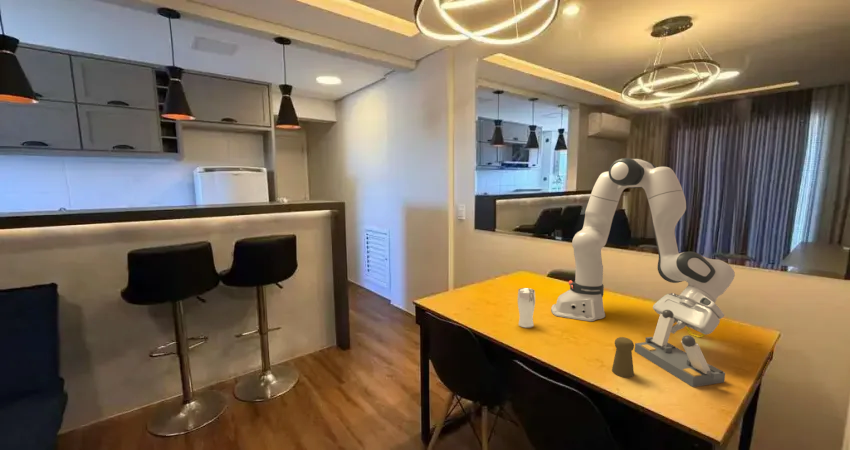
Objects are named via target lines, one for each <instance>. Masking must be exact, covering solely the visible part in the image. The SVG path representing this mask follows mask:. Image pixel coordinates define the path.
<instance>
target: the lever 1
mask: <svg viewBox="0 0 850 450" xmlns="http://www.w3.org/2000/svg"><path fill="white" fill-rule="evenodd" d="M673 316H674V314H673V312H672V311H670V310H664V311H663V312H662V314H659V317H658V320H657V324H656V327H655V329H654V334H653V336H652V337H653V339H651V340H650V342H652V343H654V344H655V345H657V346H659V347H661V348H663V349H664V347H667V343H669V339H670V337H671V336H670V335H671V334H672V333H671V329H672V326H674V324H675V323H674V318H673ZM673 323H674V324H673Z"/></svg>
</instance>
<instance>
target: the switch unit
mask: <svg viewBox="0 0 850 450" xmlns="http://www.w3.org/2000/svg"><path fill="white" fill-rule="evenodd" d="M651 339H653V336H649V337H645V342H644V341H642V342H635V344H634V353H637V355H640V356H641V357H643V358H645V359H646V360H648V361H650V362H651V363H653V364H654V365H656V366H658V367H659V368H660V369H663V370H664V371H665V372H667V373H669V374H671V375H673V376H674V377H676V378H677V379H679V380H680V381H682V382H684V383H686V384H687V385H689V386H690V387H692V388H696V387H703V386H709V385H714V384H715V385H716V384H722V383H724V384H725V379H726V372H724V371H723V370H721V369H720V368H717V367H716V366H714V365H711V364H709V363H707V364H708V366H709V368H710V372H712V373H711V376H709V375H707V374H704V373H703V372H701V371H699V370H697V369H695V368H694V367H693V366H691V362H690V360H689V358H688V356H687V353H686V351H685V350H682V349H681V348H678V347H676V346H675V345H673V344H671V343H669V342H668V343H667V347H664V349H663V348H661V347H659V346H657V345H655V344H654V343H652V342H650V340H651Z"/></svg>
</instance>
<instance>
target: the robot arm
mask: <svg viewBox="0 0 850 450" xmlns="http://www.w3.org/2000/svg"><path fill="white" fill-rule="evenodd" d="M627 188H629V189H639V188H640V189H643V190H644V192H645V195H646V199H647V202H648V205H649V208H650V213H651V217H652V218H651V219H652V227H653V232H654V238H655V243H656V248H657V252H658V261H657V272H658V274H659V276H660V278H661V279H663V280H664V281H666V282H668V283H673V284H678V283H682V282H686V283H687V286H686V287H685V288H684V290H682V291H681V293H680V294H676V293H673V292H671V293H666V294H665V295H664V296H662V297H661V298H659V300H657V301H656V302H655V303H653V306H652V309H653V310H654V312H656V314H658V315H660V314H662V312H663V311H664V310H670V311H672V312H673V314H674V316H673V318H674V323H673V326H672V329H671V333H670V334H673V335H674V334H676V332H678V331H680V330H682V329H684V328H685V327H689V328H690V329H692V330H695V331H697V332H699V333H701V334H702V333H703V334H705V335H706V336H708V335H710V334H712V333H713V332H714V331H715V329H716V328H717V327H718V325H719V324H720V321H721V319H723V318H724V317H725V313H724V311H722V309H721V308H720V306H719V305H717V304H716V302H717V299H718V298H719V297H720V296H722V295H723V294H724V293H725V292H726V290H727V289H729V287H730V286H731V284H732V283H733V281H734V279H735V276H736V275H735V271H734V269H733V267H732V266H731V265H730V264H728V263H727V262H726V261H724V260H721V259H718V258H717V259H713V258H708V257H705V256H703V255H702V254H699V253H698V252H695V251H683V252H680V251H679V249H678V243H677V238H676V231H675V230H676V226H677V225H678V222H679V221H680V219H681V218H682V217H683V215H684V214H685V212H686V211H687V201H686V196H685V193H684V190H683V188H682V185H681V183H680V180H679V178H678V177H677V174H676V173H675V171H674V170H673V169H672V168H671V167H668V166H658V167H657V166H656V165H655V164H653V163H652V162H650V161H647V160H643V159H641V158H630V157H624V158H623V157H622V158H619V159H617V160H615V161H613V163H611V165H610V167H609V168H608V171H603V172H601V173H600V175H598V178H597V179H596V181H595V183H594V185H593V188H592V190H591V193H590V195H589V196H590V197H589V198H588V199H589V200H588V201H587V202H588V203H587V204H586V208H585V213H584V214H585V215H584V220H583V226H582V229H581V230H579V231H577V232H576V233H575V234H574V236H573V238H572V242H571V245H572V248H573V255H574V256H573V257H574V262H575V274H574V275H575V278H574V279H575V280H574V281H573V280H572V279H571V280H569V281H568V285H569V289H568V290H567V291H565V292H563V293H561V294H560V295H559V296H558V297H557V300H556V303H554V304H552V306H551V309H550V311H551V314H552V315H554V316H555V317H559V318H560V317H561V318H566V319H574V320H579V321H586V322H594V321H596V320H597V321H598V320H601V319H604V318H605V317H606V313H605V309H604V301H603V300H604V299H603V297H604V293H605V292H604V283H603V279H604V277H603V276H604V265H603V259H602V248H605V246H606V244H607V242H608V238H609V235H610V231H611V227H612V223H613V220H614V216H615V213H616V210H617V207H618V205H619V201H620V199H621V197H622V196H621V195H622V194H623V192H624V190H626V189H627ZM675 323H676V324H675ZM705 335H704V336H705Z"/></svg>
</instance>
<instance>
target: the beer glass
mask: <svg viewBox="0 0 850 450" xmlns="http://www.w3.org/2000/svg"><path fill="white" fill-rule="evenodd" d="M535 305H536V291H535V289H533V288H529V287H522V288H519V289H518V292H517V307H518V314H519V320H518V326H519V327H521V328H523V329H531V328H533V327H534V326H535V325H534V321H533V320H534V317H533V316H534V311H535V308H536V307H535Z"/></svg>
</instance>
